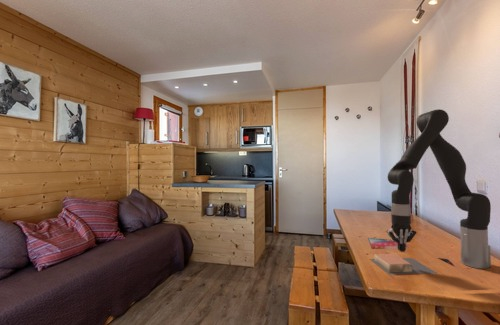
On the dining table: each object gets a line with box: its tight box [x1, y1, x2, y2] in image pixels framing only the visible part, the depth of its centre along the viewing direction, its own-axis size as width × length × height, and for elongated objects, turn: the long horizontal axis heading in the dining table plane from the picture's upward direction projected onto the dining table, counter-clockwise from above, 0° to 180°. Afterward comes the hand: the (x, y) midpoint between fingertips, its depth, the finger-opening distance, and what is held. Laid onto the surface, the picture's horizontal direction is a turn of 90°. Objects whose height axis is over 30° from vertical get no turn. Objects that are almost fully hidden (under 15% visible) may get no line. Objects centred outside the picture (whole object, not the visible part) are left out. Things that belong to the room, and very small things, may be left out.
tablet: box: [367, 237, 409, 250], centre depth 134 cm, size 19×25×1 cm
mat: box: [369, 257, 438, 276], centre depth 107 cm, size 21×16×1 cm
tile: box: [373, 253, 412, 272], centre depth 107 cm, size 3×12×10 cm
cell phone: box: [437, 257, 454, 267], centre depth 113 cm, size 8×15×1 cm, turn 66°
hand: (401, 251), depth 107 cm, fingers closed
